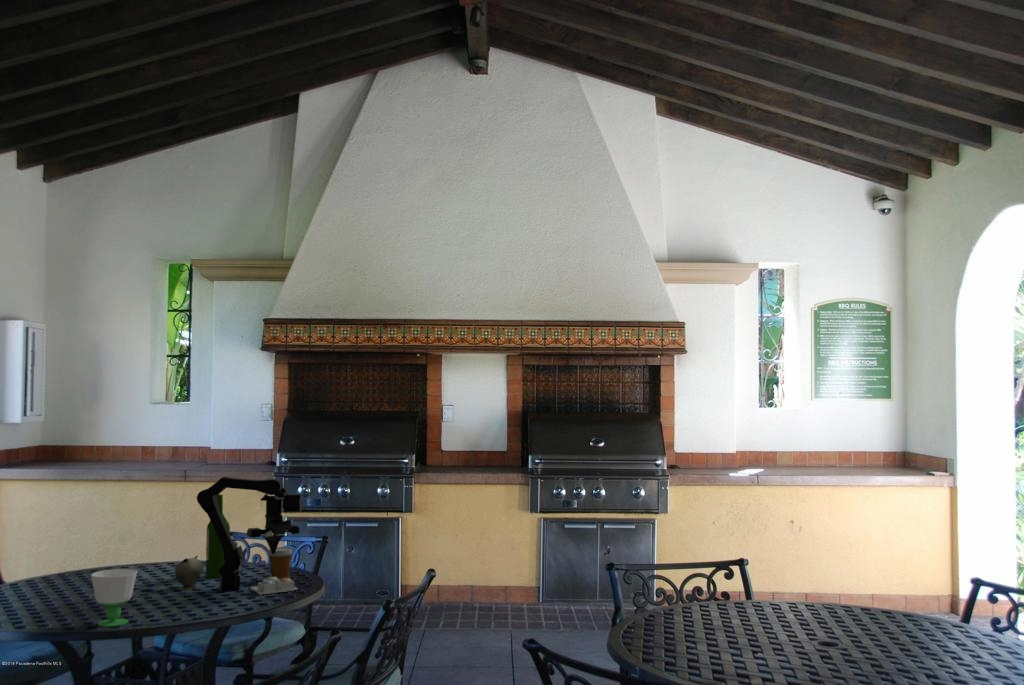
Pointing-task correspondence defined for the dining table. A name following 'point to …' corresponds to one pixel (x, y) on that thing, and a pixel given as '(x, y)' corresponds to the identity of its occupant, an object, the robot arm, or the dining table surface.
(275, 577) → the sage button
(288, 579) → the terracotta button
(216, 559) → the wine bottle
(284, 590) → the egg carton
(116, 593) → the cup
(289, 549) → the disposable coffee cup
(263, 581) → the slate button
